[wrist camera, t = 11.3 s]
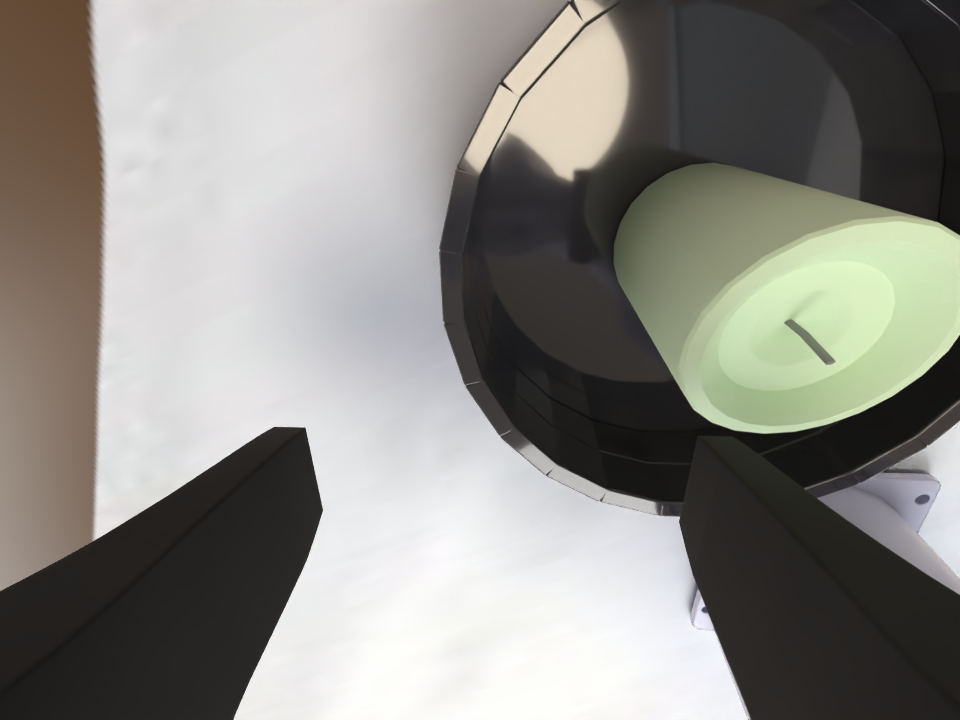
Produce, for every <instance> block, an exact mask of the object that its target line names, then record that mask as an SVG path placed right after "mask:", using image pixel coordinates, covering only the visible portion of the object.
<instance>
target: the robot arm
mask: <svg viewBox="0 0 960 720" xmlns="http://www.w3.org/2000/svg"><path fill="white" fill-rule="evenodd" d="M940 487H941V485H940V482H939V481H938V480H937V479H935V478H934V477H933V476H932V475H929V474H912V473H879V474H877V475H875V476H873V477H871V478H870V479H868V480H866V481H864V482H862V483H859V484H858V485H855V486H852V487H849V488H846V489H843V490H840V491H837V492H834V493H831V494H829V495H826V496H823V497H820V498H816V497H815V496H813V495H812V494H811V493H809V492H808V491H807V490H805V489H804V488H803V487H801V486H800V485H799V484H797V483H796V482H795V481H793V480H792V479H791V478H789V477H788V476H787V475H785V474H784V473H783V472H781V471H780V470H779V469H777V468H776V467H775V466H773V465H772V464H771V463H769V462H768V461H766V460H765V459H764V458H762V457H761V456H760V455H758V454H757V453H756V452H754V451H753V450H752V449H750V448H749V447H747V446H746V445H745V444H743V443H742V442H740V441H739V440H737V439H736V438H734V437H722V436H697V441H696V446H695V450H694V455H693V460H692V464H691V469H690V474H689V478H688V483H687V488H686V492H685V497H684V501H683V506H682V511H681V515H680V520H679V523H680V527H681V531H682V535H683V539H684V543H685V547H686V551H687V555H688V558H689V562H690V566H691V569H692V573H693V576H694V579H695V581H696V584H697V587H698V589H697V593H696V597H695V601H694V605H693V609H692V613H691V622H692V625H693V626H694V627H695V628H697V629H700V630H714V631H715V633H716V636H717V639H718V641H719V644H720V647H721V649H722V652H723V655H724V657H725V660H726V663H727V665H728V668H729V670H730V673H731V676H732V678H733V681H734V684H735V686H736V689H737V692H738V694H739V697H740V700H741V702H742V705H743V708H744V710H745V713H746V716H747V718H748V720H960V578H959V577H958V576H957V575H956V574H955V573H954V572H953V571H952V570H951V569H950V568H949V567H948V566H947V565H946V563H945V562H944V561H943V560H942V559H941V558H940V557H939V556H938V555H937V554H936V553H935V552H934V551H933V550H932V549H931V548H930V546H929V545H928V544H927V543H926V542H925V541H924V540H923V539H922V538H921V537H920V536H919V535H918V534H917V533H918V531H919V529H920V527H921V525H922V523H923V521H924V520H925V518H926V516H927V514H928V512H929V510H930V508H931V506H932V504H933V502H934V500H935V498H936V496H937V494H938V492H939V490H940ZM322 512H323V508H322V504H321V499H320V494H319V489H318V485H317V480H316V475H315V471H314V466H313V461H312V457H311V452H310V447H309V443H308V438H307V433H306V429H305V428H297V427H273V428H272V429H270V430H268V431H266V432H264V433H263V434H261V435H260V436H258V437H256V438H255V439H253V440H252V441H250V442H248V443H247V444H245V445H244V446H242V447H241V448H239V449H238V450H236V451H235V452H233V453H232V454H230V455H229V456H227V457H226V458H224V459H223V460H221V461H220V462H218V463H217V464H215V465H214V466H212V467H211V468H209V469H208V470H206V471H205V472H203V473H202V474H200V475H199V476H197V477H196V478H194V479H193V480H191V481H190V482H188V483H187V484H185V485H184V486H182V487H181V488H179V489H178V490H176V491H175V492H173V493H171V494H170V495H168V496H167V497H165V498H164V499H162V500H160V501H159V502H157V503H155V504H154V505H152V506H151V507H149V508H147V509H146V510H144V511H142V512H141V513H139V514H138V515H136V516H134V517H133V518H131V519H129V520H128V521H126V522H125V523H123V524H121V525H120V526H118V527H116V528H115V529H113V530H112V531H110V532H108V533H107V534H105V535H103V536H102V537H100V538H98V539H96V540H95V541H93V542H91V543H90V544H88V545H86V546H84V547H83V548H81V549H79V550H77V551H75V552H73V553H72V554H70V555H68V556H66V557H65V558H63V559H61V560H59V561H57V562H55V563H53V564H52V565H49V566H48V567H46V568H44V569H42V570H40V571H38V572H36V573H34V574H33V575H31V576H29V577H27V578H25V579H23V580H21V581H20V582H17V583H15V584H13V585H11V586H9V587H7V588H6V589H4V590H2V591H0V720H233V719H234V716H235V714H236V711H237V709H238V707H239V704H240V702H241V700H242V697H243V695H244V693H245V690H246V688H247V686H248V683H249V681H250V679H251V677H252V675H253V673H254V671H255V669H256V667H257V664H258V662H259V660H260V658H261V656H262V654H263V652H264V650H265V648H266V646H267V644H268V641H269V639H270V637H271V635H272V633H273V631H274V629H275V627H276V625H277V623H278V620H279V618H280V616H281V614H282V612H283V610H284V608H285V606H286V604H287V602H288V600H289V597H290V595H291V593H292V591H293V589H294V587H295V585H296V582H297V580H298V578H299V576H300V574H301V572H302V569H303V567H304V565H305V563H306V561H307V558H308V555H309V552H310V549H311V546H312V543H313V540H314V538H315V534H316V531H317V528H318V525H319V521H320V518H321V515H322Z"/></svg>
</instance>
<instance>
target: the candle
mask: <svg viewBox="0 0 960 720" xmlns="http://www.w3.org/2000/svg"><path fill="white" fill-rule="evenodd" d="M614 267H615V271H616V275H617V278H618V282H619V284H620V286H621V287H622V289H623V291H624V293H625V294H626V296H627V298H628V299H629V301H630V303H631V305H632V306H633V308H634V310H635V311H636V313H637V315H638V317H639V318H640V320H641V322H642V323H643V325H644V327H645V329H646V330H647V332H648V334H649V335H650V337H651V339H652V341H653V342H654V344H655V346H656V347H657V349H658V351H659V353H660V354H661V356H662V358H663V360H664V361H665V363H666V365H667V366H668V368H669V370H670V372H671V373H672V375H673V377H674V378H675V380H676V382H677V384H678V385H679V387H680V389H681V390H682V392H683V394H684V395H685V397H686V398H687V400H688V402H689V403H690V405H691V406H692V408H693V409H694V410H695V411H696V412H698V413H699V414H701V415H702V416H703V417H705V418H706V419H707V420H709V421H710V422H712V423H715V424H718V425H720V426H723V427H726V428H729V429H732V430H736V431H745V432H754V433H763V434H766V433H782V432H795V431H800V430H805V429H809V428H814V427H819V426H823V425H827V424H830V423H833V422H836V421H839V420H841V419H844V418H847V417H850V416H852V415H855V414H858V413H861V412H862V411H864V410H866V409H868V408H870V407H872V406H874V405H876V404H878V403H880V402H882V401H884V400H886V399H888V398H890V397H892V396H893V395H895V394H896V393H898V392H899V391H901V390H902V389H903V388H905V387H906V386H908V385H909V384H911V383H912V382H914V381H915V380H916V379H918V378H919V377H921V376H922V375H923V374H924V373H925V372H926V371H928V370H929V369H930V368H931V367H932V366H933V365H934V364H935V363H936V362H937V361H938V360H939V359H940V358H941V357H942V356H943V355H944V354H945V353H946V352H948V351H949V349H950V348H951V347H952V345H953V344H954V342H955V341H956V340H957V338H958V337H959V335H960V235H958V234H956V233H955V232H953V231H952V230H950V229H948V228H947V227H945V226H943V225H942V224H940V223H938V222H935V221H931V220H928V219H924V218H920V217H917V216H913V215H909V214H906V213H902V212H899V211H895V210H891V209H888V208H884V207H880V206H877V205H873V204H870V203H866V202H862V201H859V200H855V199H851V198H848V197H844V196H840V195H837V194H833V193H830V192H826V191H822V190H819V189H815V188H811V187H808V186H804V185H801V184H797V183H793V182H790V181H786V180H782V179H779V178H775V177H771V176H768V175H764V174H761V173H757V172H753V171H750V170H746V169H742V168H739V167H735V166H730V165H724V164H719V163H703V164H693V165H688V166H685V167H683V168H680V169H677V170H674V171H672V172H669V173H667V174H665V175H664V176H662V177H661V178H659V179H658V180H656V181H655V182H653V183H652V184H650V185H649V186H647V187H646V188H645V190H644V191H643V192H642V193H641V194H640V195H639V196H638V197H637V198H636V199H635V200H634V201H633V202H632V203H631V205H630V207H629V208H628V210H627V212H626V214H625V215H624V217H623V219H622V220H621V222H620V225H619V228H618V232H617V235H616V239H615V242H614Z"/></svg>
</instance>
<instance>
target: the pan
mask: <svg viewBox="0 0 960 720" xmlns="http://www.w3.org/2000/svg"><path fill="white" fill-rule="evenodd" d="M703 163H719V164H724V165H730V166H735V167H739V168H742V169H746V170H750V171H753V172H757V173H761V174H764V175H768V176H771V177H775V178H779V179H782V180H786V181H790V182H793V183H797V184H801V185H804V186H808V187H811V188H815V189H819V190H822V191H826V192H830V193H833V194H837V195H840V196H844V197H848V198H851V199H855V200H859V201H862V202H866V203H870V204H873V205H877V206H880V207H884V208H888V209H891V210H895V211H899V212H902V213H906V214H909V215H913V216H917V217H920V218H924V219H928V220H931V221H935V222H938V223H940V224H942V225H943V226H945V227H947V228H948V229H950V230H952V231H953V232H955V233H956V234H958V235H960V0H570V1H568V2H566V4H565V5H564V6H563V7H562V8H561V9H560V11H559V12H558V13H557V14H556V15H555V17H554V18H553V19H552V20H551V21H550V22H549V24H548V25H547V26H546V27H545V28H544V29H543V31H542V32H541V33H540V34H539V35H538V36H537V38H536V39H535V40H534V41H533V42H532V43H531V45H530V46H529V47H528V48H527V49H526V50H525V52H524V53H523V54H522V55H521V56H520V57H519V59H518V60H517V61H516V62H515V63H514V65H513V66H512V67H511V68H510V69H509V70H508V72H507V73H506V74H505V75H504V76H503V77H502V79H501V81H500V82H499V83H498V85H497V87H496V89H495V91H494V93H493V95H492V97H491V99H490V101H489V103H488V105H487V107H486V109H485V111H484V113H483V115H482V117H481V119H480V121H479V123H478V125H477V127H476V129H475V131H474V133H473V135H472V137H471V139H470V141H469V143H468V145H467V147H466V149H465V151H464V153H463V155H462V157H461V159H460V161H459V163H458V165H457V169H456V171H455V176H454V181H453V186H452V190H451V195H450V200H449V204H448V209H447V214H446V219H445V223H444V228H443V233H442V238H441V242H440V247H439V249H440V252H439V258H440V275H441V293H442V310H443V321H444V327H445V330H446V333H447V336H448V339H449V341H450V344H451V347H452V350H453V353H454V356H455V359H456V362H457V365H458V368H459V371H460V373H461V376H462V379H463V382H464V384H465V385H466V388H467V390H468V391H469V393H470V394H471V396H472V397H473V398H474V400H475V401H476V403H477V404H478V406H479V407H480V409H481V410H482V411H483V413H484V414H485V416H486V417H487V419H488V420H489V421H490V423H491V424H492V426H493V427H494V429H495V430H496V432H497V433H498V434H499V436H501V438H502V439H503V440H504V441H505V442H506V443H508V444H509V445H510V446H511V447H512V448H514V449H515V450H516V451H517V452H518V453H520V454H521V455H522V456H523V457H524V458H525V459H527V460H528V461H529V462H530V463H531V464H533V465H534V466H535V467H536V468H537V469H539V470H540V471H541V472H542V473H543V474H544V475H546V476H548V477H550V478H552V479H554V480H556V481H558V482H560V483H562V484H564V485H566V486H568V487H570V488H572V489H574V490H576V491H578V492H580V493H582V494H584V495H586V496H588V497H590V498H592V499H594V500H597V501H601V502H603V503H607V504H612V505H616V506H620V507H624V508H629V509H633V510H637V511H641V512H645V513H650V514H654V515H660V516H675V517H680V515H681V511H682V506H683V501H684V497H685V492H686V488H687V483H688V478H689V474H690V469H691V464H692V460H693V455H694V450H695V446H696V441H697V436H722V437H734V438H736V439H737V440H739V441H740V442H742V443H743V444H745V445H746V446H747V447H749V448H750V449H752V450H753V451H754V452H756V453H757V454H758V455H760V456H761V457H762V458H764V459H765V460H766V461H768V462H769V463H771V464H772V465H773V466H775V467H776V468H777V469H779V470H780V471H781V472H783V473H784V474H785V475H787V476H788V477H789V478H791V479H792V480H793V481H795V482H796V483H797V484H799V485H800V486H801V487H803V488H804V489H805V490H807V491H808V492H809V493H811V494H812V495H813V496H815V497H816V498H820V497H823V496H826V495H829V494H831V493H834V492H837V491H840V490H843V489H846V488H849V487H852V486H855V485H858V484H859V483H862V482H864V481H866V480H868V479H870V478H871V477H873V476H875V475H877V474H879V473H880V472H882V471H884V470H886V469H888V468H890V467H891V466H893V465H895V464H897V463H899V462H901V461H902V460H904V459H906V458H908V457H910V456H911V455H913V454H915V453H917V452H919V451H921V450H922V449H924V448H926V447H927V445H930V444H932V443H933V442H934V441H935V440H937V439H938V438H939V437H940V436H942V435H943V434H944V433H945V432H947V431H948V430H949V429H950V428H952V427H953V426H954V425H955V424H957V423H958V422H959V421H960V335H959V337H958V338H957V340H956V341H955V342H954V344H953V345H952V347H951V348H950V349H949V351H948V352H946V353H945V354H944V355H943V356H942V357H941V358H940V359H939V360H938V361H937V362H936V363H935V364H934V365H933V366H932V367H931V368H930V369H929V370H928V371H926V372H925V373H924V374H923V375H922V376H921V377H919V378H918V379H916V380H915V381H914V382H912V383H911V384H909V385H908V386H906V387H905V388H903V389H902V390H901V391H899V392H898V393H896V394H895V395H893V396H892V397H890V398H888V399H886V400H884V401H882V402H880V403H878V404H876V405H874V406H872V407H870V408H868V409H866V410H864V411H862V412H861V413H858V414H855V415H852V416H850V417H847V418H844V419H841V420H839V421H836V422H833V423H830V424H827V425H823V426H819V427H814V428H809V429H805V430H800V431H795V432H782V433H766V434H763V433H754V432H745V431H736V430H732V429H729V428H726V427H723V426H720V425H718V424H715V423H712V422H710V421H709V420H707V419H706V418H705V417H703V416H702V415H701V414H699V413H698V412H696V411H695V410H694V409H693V408H692V406H691V405H690V403H689V402H688V400H687V398H686V397H685V395H684V394H683V392H682V390H681V389H680V387H679V385H678V384H677V382H676V380H675V378H674V377H673V375H672V373H671V372H670V370H669V368H668V366H667V365H666V363H665V361H664V360H663V358H662V356H661V354H660V353H659V351H658V349H657V347H656V346H655V344H654V342H653V341H652V339H651V337H650V335H649V334H648V332H647V330H646V329H645V327H644V325H643V323H642V322H641V320H640V318H639V317H638V315H637V313H636V311H635V310H634V308H633V306H632V305H631V303H630V301H629V299H628V298H627V296H626V294H625V293H624V291H623V289H622V287H621V286H620V284H619V282H618V278H617V275H616V271H615V267H614V242H615V239H616V235H617V232H618V228H619V225H620V222H621V220H622V219H623V217H624V215H625V214H626V212H627V210H628V208H629V207H630V205H631V203H632V202H633V201H634V200H635V199H636V198H637V197H638V196H639V195H640V194H641V193H642V192H643V191H644V190H645V188H646V187H647V186H649V185H650V184H652V183H653V182H655V181H656V180H658V179H659V178H661V177H662V176H664V175H665V174H667V173H669V172H672V171H674V170H677V169H680V168H683V167H685V166H688V165H693V164H703Z"/></svg>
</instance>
